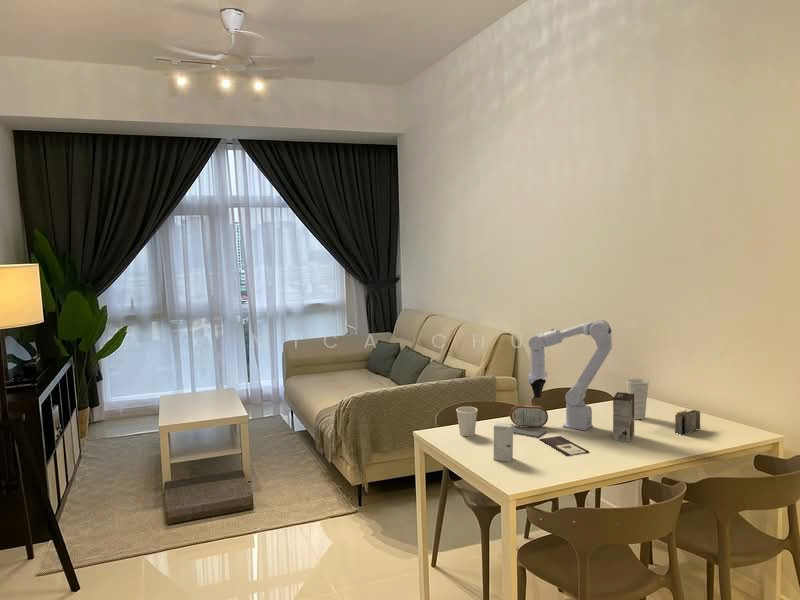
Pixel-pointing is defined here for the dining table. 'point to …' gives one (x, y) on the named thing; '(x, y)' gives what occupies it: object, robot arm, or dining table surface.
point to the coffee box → (623, 416)
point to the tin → (529, 415)
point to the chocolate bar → (564, 445)
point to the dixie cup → (467, 420)
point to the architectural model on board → (687, 421)
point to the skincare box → (503, 441)
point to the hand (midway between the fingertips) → (537, 397)
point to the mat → (527, 431)
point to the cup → (638, 396)
